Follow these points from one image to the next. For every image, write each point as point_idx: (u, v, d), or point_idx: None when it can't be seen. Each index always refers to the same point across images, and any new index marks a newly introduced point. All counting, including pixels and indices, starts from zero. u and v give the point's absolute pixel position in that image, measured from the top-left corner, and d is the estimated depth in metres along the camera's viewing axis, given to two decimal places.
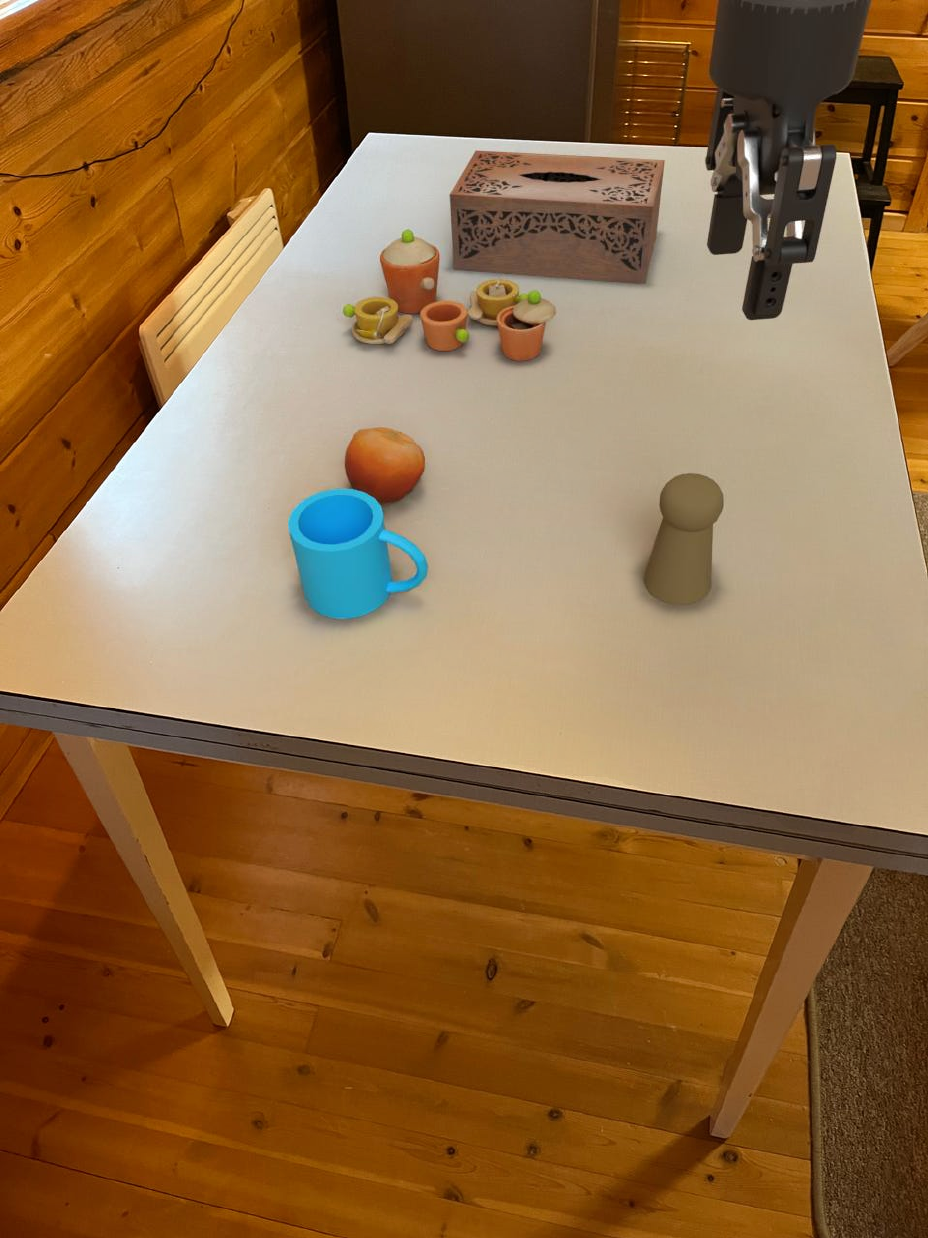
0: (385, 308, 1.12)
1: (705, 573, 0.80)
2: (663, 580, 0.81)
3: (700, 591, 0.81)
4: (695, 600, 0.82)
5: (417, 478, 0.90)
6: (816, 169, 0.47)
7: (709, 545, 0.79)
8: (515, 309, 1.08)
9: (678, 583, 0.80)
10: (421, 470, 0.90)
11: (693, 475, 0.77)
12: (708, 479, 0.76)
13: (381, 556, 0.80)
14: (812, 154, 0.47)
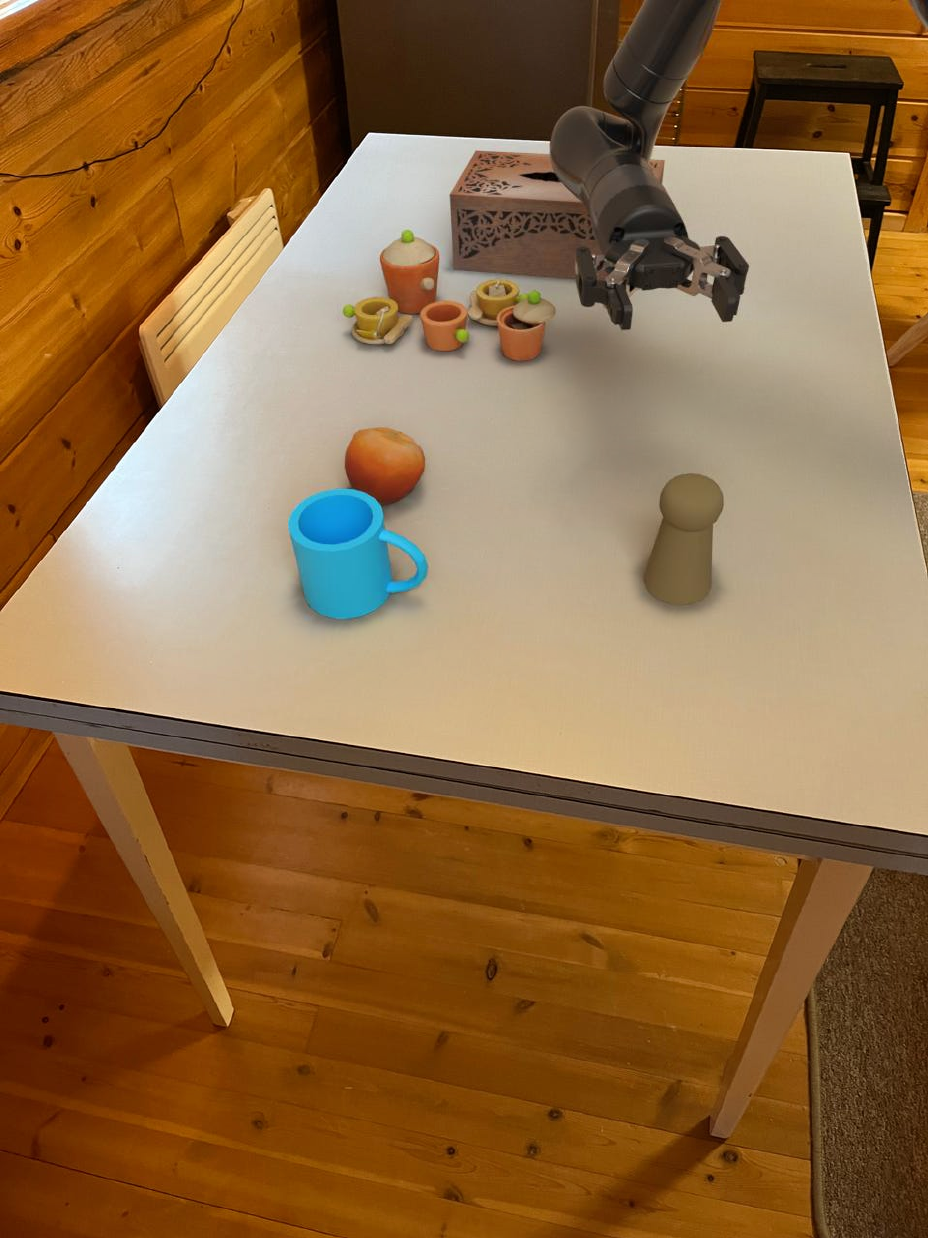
0: (385, 308, 1.12)
1: (705, 573, 0.80)
2: (663, 580, 0.81)
3: (700, 591, 0.81)
4: (695, 600, 0.82)
5: (417, 478, 0.90)
6: (576, 261, 0.82)
7: (709, 545, 0.79)
8: (515, 309, 1.08)
9: (678, 583, 0.80)
10: (421, 470, 0.90)
11: (693, 475, 0.77)
12: (708, 479, 0.76)
13: (381, 556, 0.80)
14: None
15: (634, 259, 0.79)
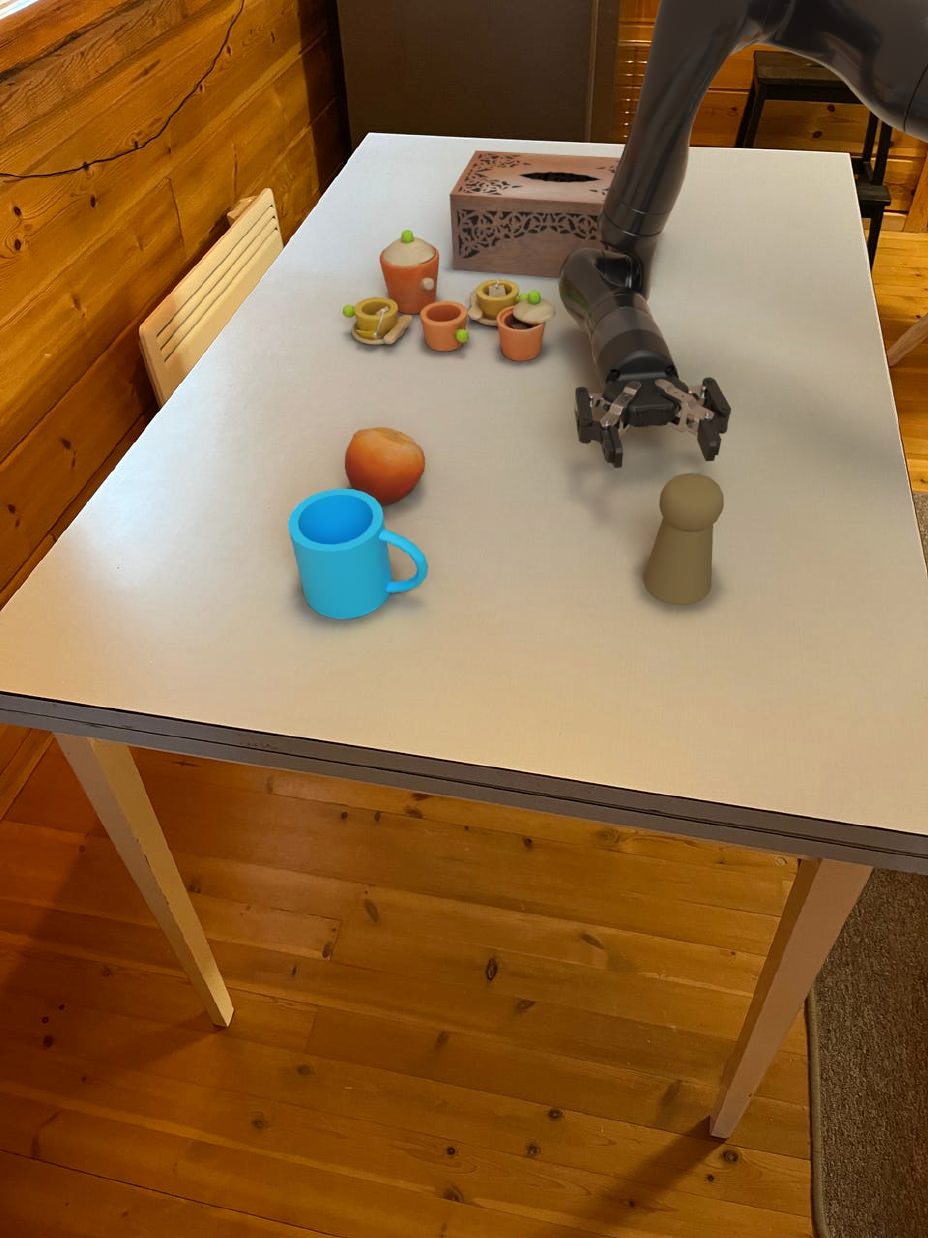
0: (385, 308, 1.12)
1: (705, 573, 0.80)
2: (663, 580, 0.81)
3: (700, 591, 0.81)
4: (695, 600, 0.82)
5: (417, 478, 0.90)
6: (575, 400, 0.90)
7: (709, 545, 0.79)
8: (515, 309, 1.08)
9: (678, 583, 0.80)
10: (421, 470, 0.90)
11: (693, 475, 0.77)
12: (708, 479, 0.76)
13: (381, 556, 0.80)
14: None
15: (627, 402, 0.87)
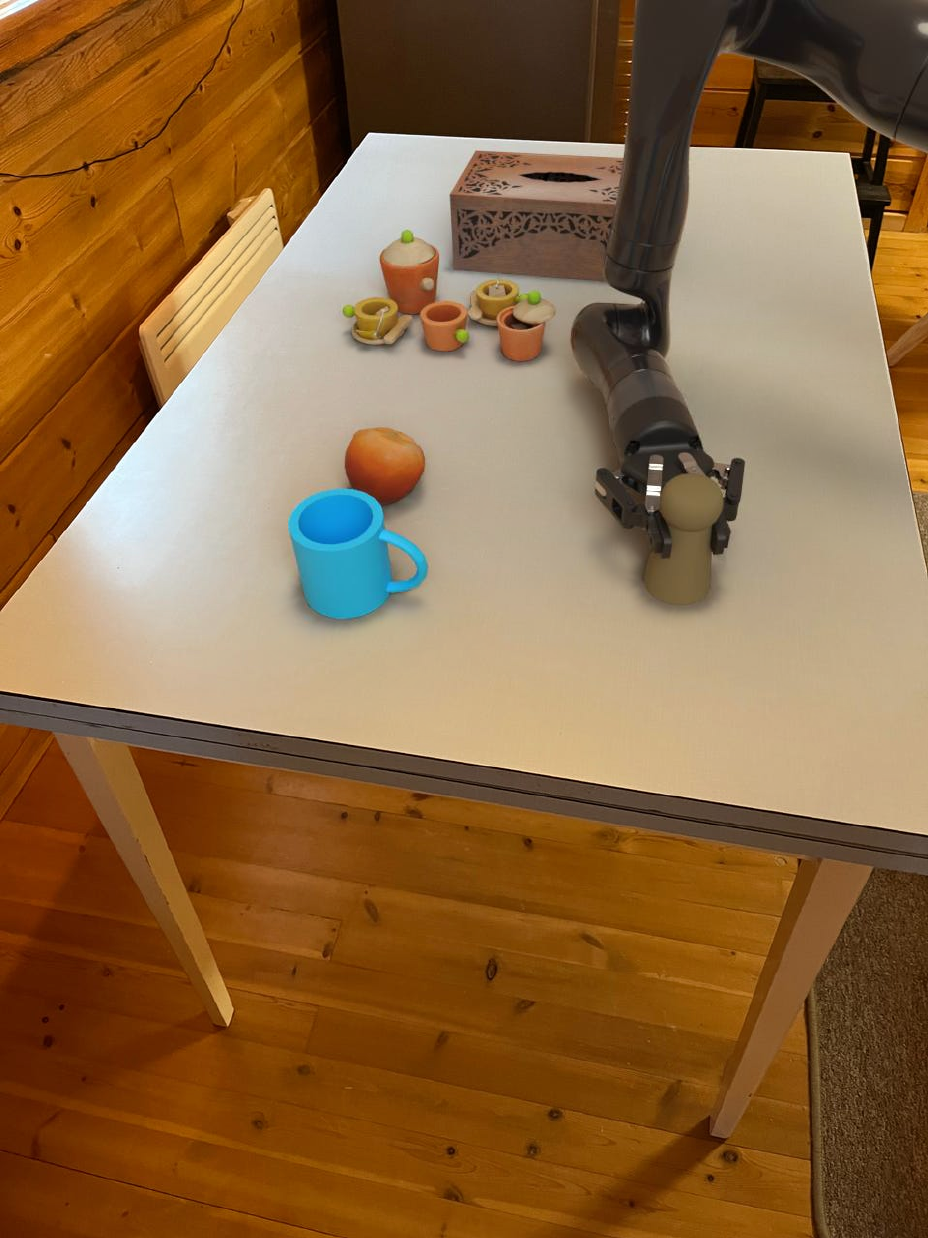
0: (385, 308, 1.12)
1: (705, 573, 0.80)
2: (663, 580, 0.81)
3: (700, 591, 0.81)
4: (695, 600, 0.82)
5: (417, 478, 0.90)
6: (598, 483, 0.83)
7: (709, 545, 0.79)
8: (515, 309, 1.08)
9: (678, 583, 0.80)
10: (421, 470, 0.90)
11: (693, 475, 0.77)
12: (708, 479, 0.76)
13: (381, 556, 0.80)
14: None
15: (661, 480, 0.81)
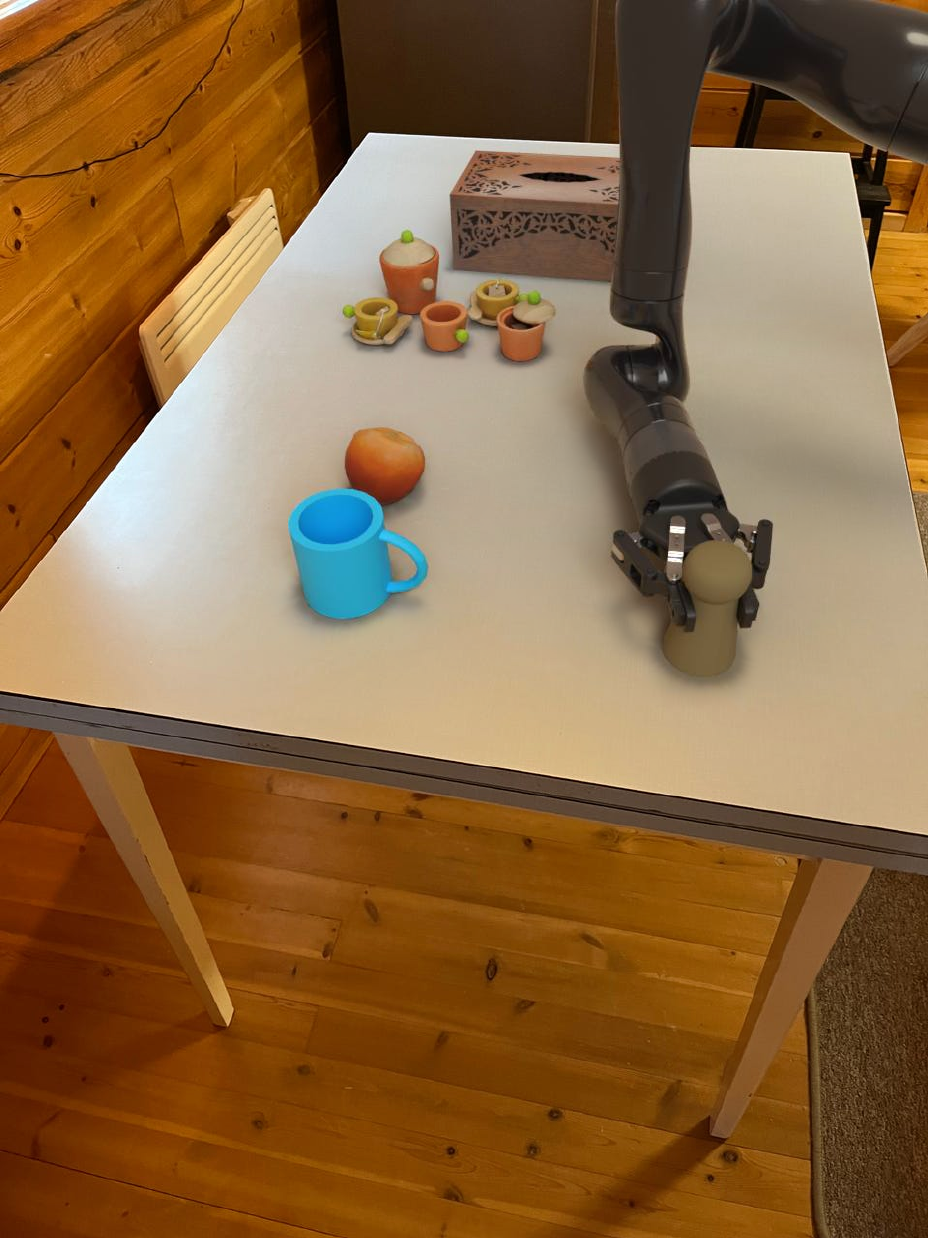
0: (385, 309, 1.12)
1: (730, 645, 0.75)
2: (684, 651, 0.75)
3: (724, 663, 0.76)
4: (718, 672, 0.76)
5: (417, 478, 0.90)
6: (615, 547, 0.77)
7: (735, 617, 0.73)
8: (515, 309, 1.08)
9: (700, 655, 0.75)
10: (421, 470, 0.90)
11: (720, 543, 0.71)
12: (736, 548, 0.71)
13: (381, 556, 0.80)
14: (612, 544, 0.78)
15: (683, 544, 0.75)
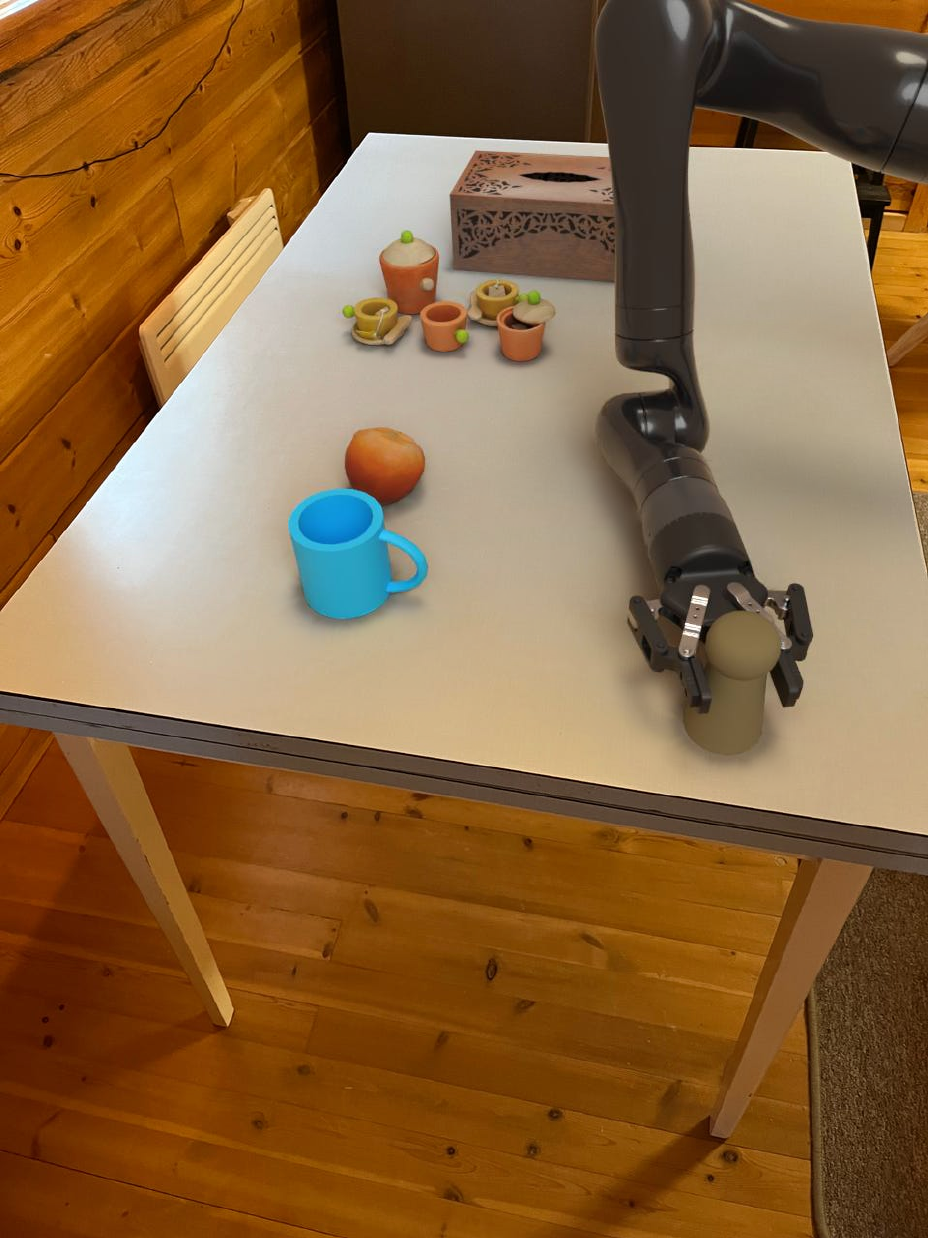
0: (385, 309, 1.12)
1: (756, 722, 0.70)
2: (706, 727, 0.70)
3: (749, 740, 0.70)
4: (743, 750, 0.71)
5: (417, 478, 0.90)
6: (630, 613, 0.72)
7: (762, 693, 0.68)
8: (515, 309, 1.08)
9: (724, 732, 0.69)
10: (421, 470, 0.90)
11: (746, 614, 0.66)
12: (763, 620, 0.66)
13: (381, 556, 0.80)
14: None
15: (702, 618, 0.69)
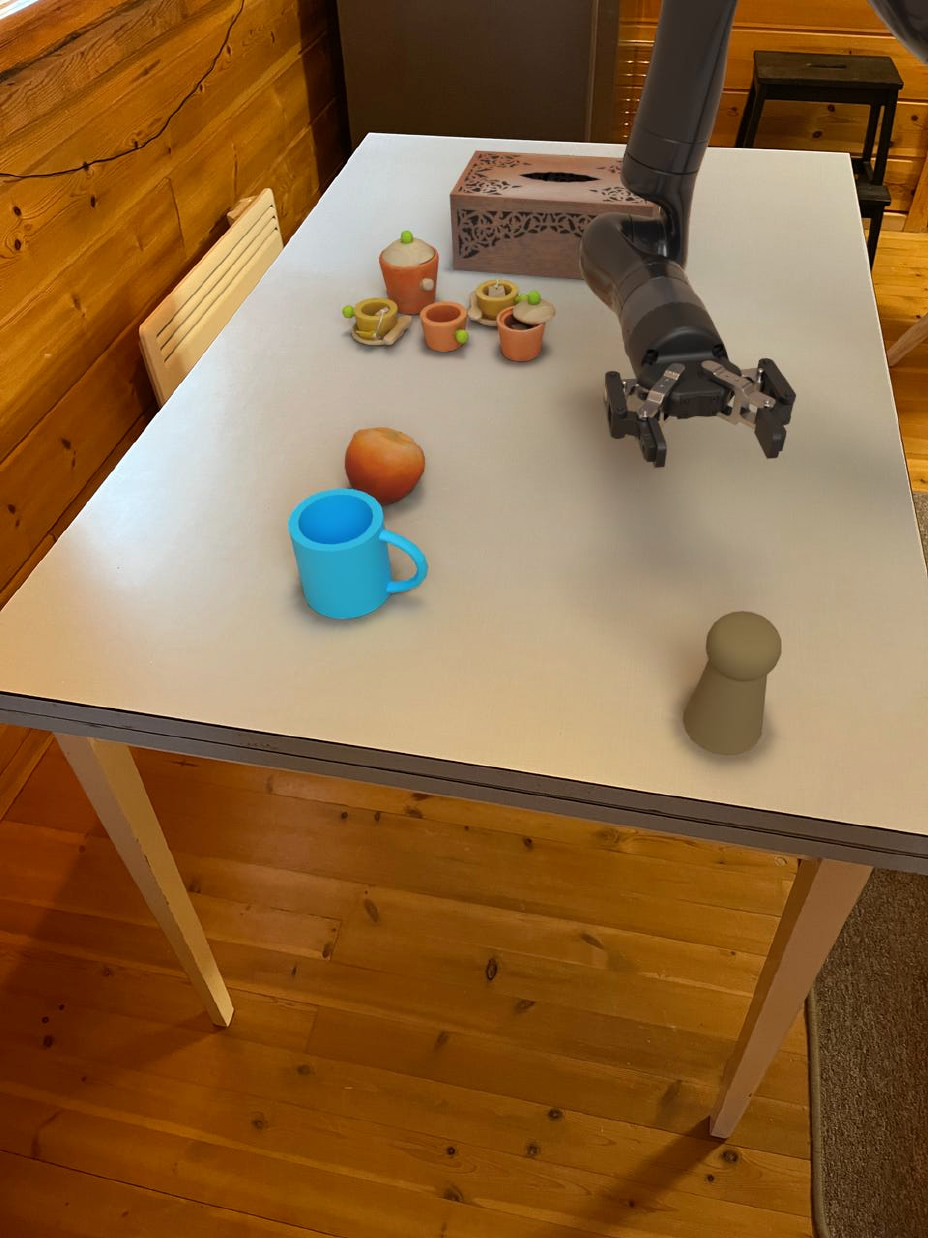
0: (384, 309, 1.12)
1: (756, 722, 0.69)
2: (706, 727, 0.70)
3: (749, 740, 0.70)
4: (743, 750, 0.71)
5: (417, 478, 0.90)
6: (605, 387, 0.75)
7: (762, 693, 0.68)
8: (515, 310, 1.08)
9: (724, 733, 0.69)
10: (421, 470, 0.90)
11: (746, 615, 0.66)
12: (764, 621, 0.66)
13: (381, 556, 0.80)
14: None
15: (669, 388, 0.72)
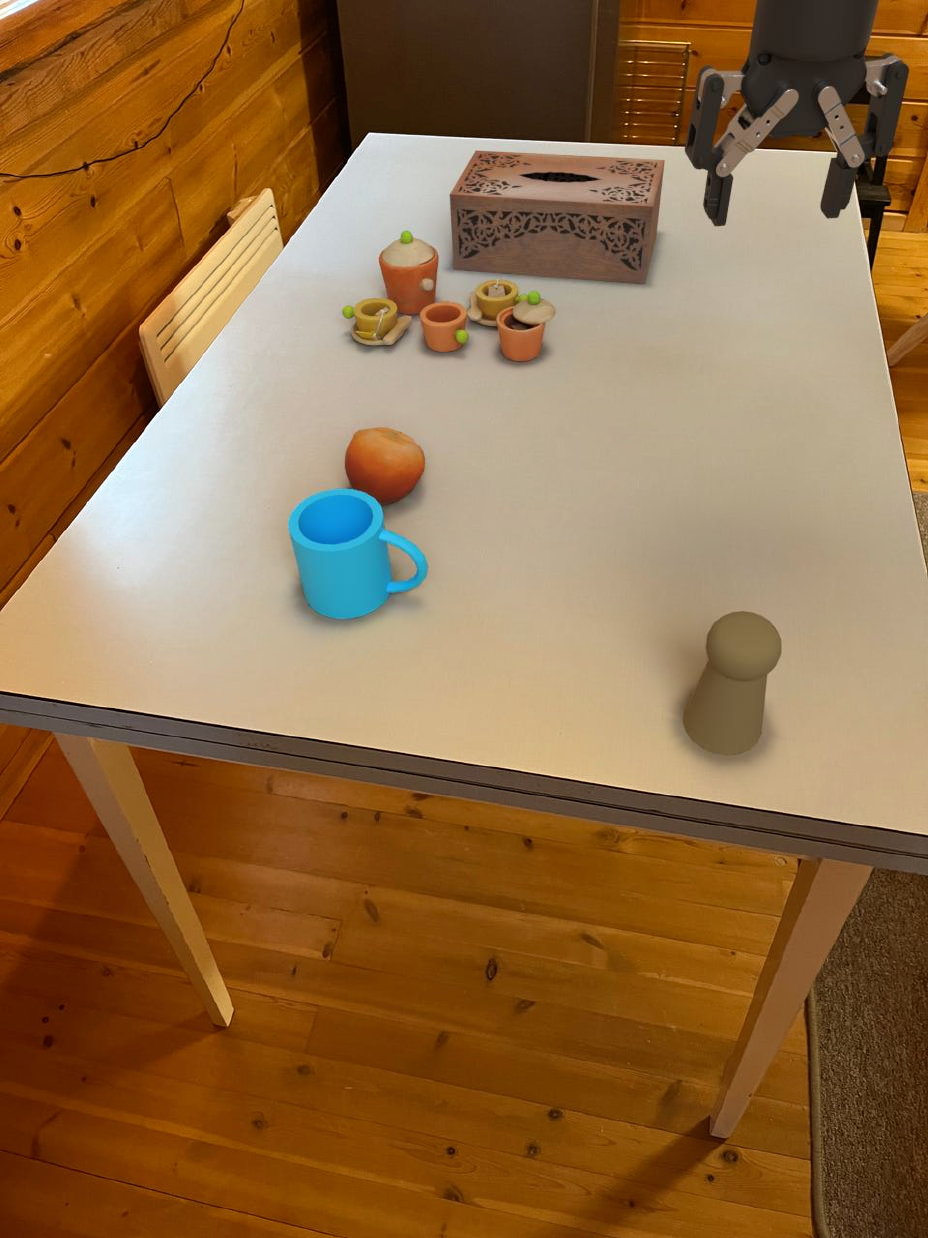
0: (384, 309, 1.12)
1: (756, 722, 0.69)
2: (706, 727, 0.70)
3: (749, 740, 0.70)
4: (743, 750, 0.71)
5: (417, 478, 0.90)
6: (702, 87, 0.63)
7: (762, 693, 0.68)
8: (515, 310, 1.07)
9: (724, 733, 0.69)
10: (421, 470, 0.90)
11: (746, 615, 0.66)
12: (764, 621, 0.66)
13: (381, 556, 0.80)
14: (705, 74, 0.62)
15: (764, 136, 0.64)
